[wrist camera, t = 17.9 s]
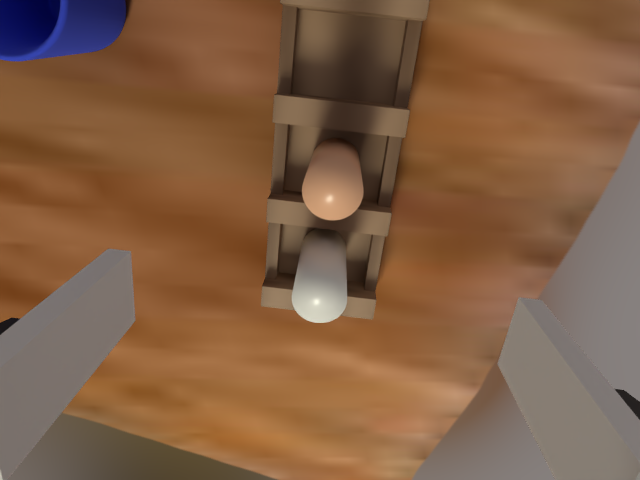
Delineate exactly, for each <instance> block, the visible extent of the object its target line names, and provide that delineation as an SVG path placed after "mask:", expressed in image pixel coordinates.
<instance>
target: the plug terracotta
mask: <svg viewBox="0 0 640 480" xmlns="http://www.w3.org/2000/svg"><path fill="white" fill-rule="evenodd" d="M363 191H364V190H363V182H362V175H361V168H360V161H359V155H358V152H357V150H356V148H355V147H354V146H353V145H352V144H351V143H350V142H348V141H347V140H345V139H342V138H329V139H326V140H324V141H323V142H321V143H320V144H319V145H318V146H317V147H316V149H315V150H314V152H313V155H312V158H311V161H310V164H309V167H308V170H307V173H306V175H305V178H304V181H303V185H302V196H303V200H304V202H305V204H306V206H307V207H308V209H309V210H310V211H311V212H312V213H313V214H314V215H316V216H318V217H320V218H322V219H325V220H340V219H344V218H346V217H348V216H350V215H351V214H352V213H354V212H355V211H356V210H357V208H358V207H359V205H360V204H361V201H362V198H363Z"/></svg>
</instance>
